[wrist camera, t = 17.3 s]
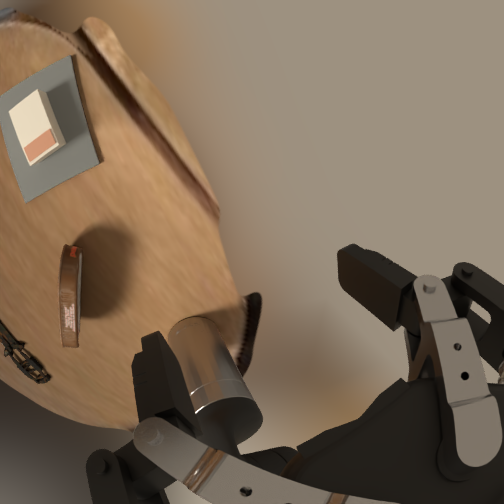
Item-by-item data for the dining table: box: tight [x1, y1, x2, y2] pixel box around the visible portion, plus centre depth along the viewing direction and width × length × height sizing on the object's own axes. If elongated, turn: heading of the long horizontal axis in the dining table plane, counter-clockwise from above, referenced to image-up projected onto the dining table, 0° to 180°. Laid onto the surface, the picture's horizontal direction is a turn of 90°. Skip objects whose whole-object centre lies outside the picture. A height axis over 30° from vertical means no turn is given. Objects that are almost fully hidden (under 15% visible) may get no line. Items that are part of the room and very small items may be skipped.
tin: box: [58, 244, 83, 348], centre depth 30 cm, size 15×3×8 cm, turn 160°
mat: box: [0, 55, 100, 203], centre depth 24 cm, size 16×12×1 cm
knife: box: [0, 323, 50, 384], centre depth 30 cm, size 25×6×1 cm, turn 11°
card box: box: [9, 89, 66, 166], centre depth 22 cm, size 4×8×4 cm, turn 20°
